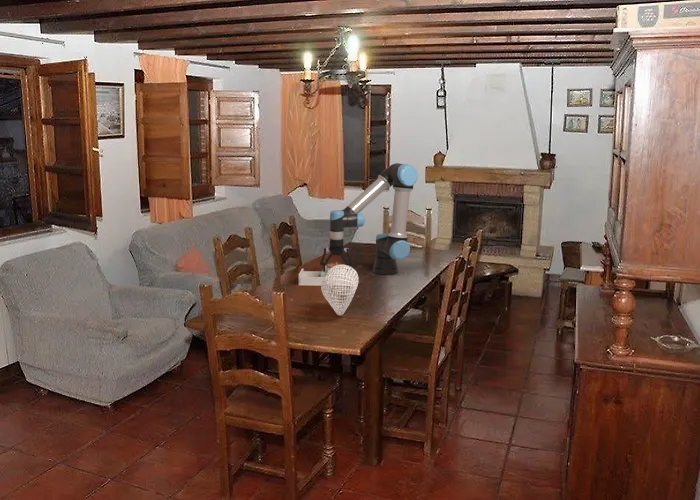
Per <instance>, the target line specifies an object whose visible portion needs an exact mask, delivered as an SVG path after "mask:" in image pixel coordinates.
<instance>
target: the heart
mask: <svg viewBox="0 0 700 500" xmlns="http://www.w3.org/2000/svg"><path fill="white" fill-rule="evenodd" d="M338 266H340V267H338ZM342 266H344V267H342ZM335 267H336V268H335ZM347 267H348V268H347ZM339 268H340V269H339ZM341 268H343V269H341ZM344 268H346V270H345V269H344ZM331 269H332V270H331ZM331 269H330V270H329V271H328V272H327V274H328V275H327V274H326V277H324V279H325V280H324V279H323V281H322V284H321V288H320V290H321V293H322V295H323V297H324V298H325V300H326V301H327V302H328V304H329V305H330V307H331V308H332V310H333V312H335V313H336V315H337V316H343V315H344V313H346V311H347V309H348V308H349V306H350V305H351V302H352V301H353V298H354V296H355V293H356V290H357V288H358V286H359V275H358V272H357V270H356V269H354V268H353V267H352V266H347V265H346V264H345V265H337V266H334V267H332V268H331ZM334 269H335V270H334ZM347 269H348V270H347ZM336 270H338V271H336ZM331 271H332V272H331ZM334 271H335V272H334ZM341 271H343V272H341ZM339 272H341V273H339ZM345 272H346V273H345ZM348 272H349V273H350V275H349V273H348ZM329 273H330V274H329ZM344 273H345V274H344ZM352 273H353V274H352ZM332 274H334V275H332ZM336 274H337V275H336ZM339 274H340V275H339ZM341 275H343V276H341ZM344 275H346V276H344ZM352 275H353V276H352ZM336 276H337V277H338V279H336ZM339 276H340V277H343V279H339ZM347 276H349V277H347ZM354 276H355V277H354ZM332 277H333V279H332ZM344 277H346V279H344ZM329 278H330V279H329ZM334 278H335V279H334ZM347 278H349V279H347ZM350 278H351V279H350ZM329 280H330V281H333V284H332V283H331V284H330V281H329ZM335 280H336V284H334V281H335ZM337 280H338V283H337ZM340 280H342V283H340ZM349 280H350V281H351V282H350V281H349ZM344 281H345V283H344ZM352 281H353V283H352ZM347 282H348V283H347ZM349 282H350V284H349ZM346 284H348V285H346ZM332 285H333V286H332ZM334 285H336V286H334ZM337 285H338V286H337ZM340 285H342V286H340ZM344 285H345V286H344Z"/></svg>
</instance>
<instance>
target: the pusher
mask: <svg viewBox="0 0 700 500" xmlns="http://www.w3.org/2000/svg"><path fill="white" fill-rule="evenodd" d="M321 271H322V272H321V275H318V277H325V272H324V271H323V269H322V270H321Z"/></svg>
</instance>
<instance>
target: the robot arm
mask: <svg viewBox="0 0 700 500" xmlns="http://www.w3.org/2000/svg"><path fill="white" fill-rule="evenodd" d="M418 178H419V175H418V171H417V169H416V168H415V167H414V166H413V165H411V164H408V163H399V162H398V163H397V162H396V163H392V164H391V165H389V166H387V167H386V168H385V169H384V170H383V171H381V172H380V174H378V176H377V179H376V180H374V181H373V182H372V183H371V184H370V185H369V186H368V187H367V188H366V189H364V190H363V191H362V192H361V193H360V194H359V195H358V196H357V197H356V198H355V199H354V200H353V201H351V202H350V203H349V204H348V205H347V206H346V207H344V208H343V209H340V210H339V209H338V210H337V209H335V210H331V211H330V213H329V238H330V239H329V247H324V248H323V254H322V257H321V260H320V262H319V265H321V266H322V270H323V271H324V272H325V277H326V274H327V264H328V263H329V261H330V260H331V257H333V256H340V257H341V260H342V261H344V262H343V263H344V264H345V265H347V266H350V267H352V266H353V265H354V263H353V260H352V257H351V255H350V248H349V247H344V236H345V235H344V228H362V227H364V225H365V223H366V221H365V219H366V218H365V216H364V214H363V213H361V212H362V211H363V210H364V209H365V208H366V207H368V206H369V205H370V204H371V203H372V202H374V201H375V199H376V198H378V197H379V195H381V194H382V193H383V192H384V191H385V190H387V189H389V188H391V187H392V188H393V190H394V195H393V203H392V204H393V205H392V215H391V226H390V232H389V233H387V232H386V233H378V234H376V237H375V261H374V264H373V266H372V272H373V273H375V274H377V275H378V274H379V275H393V274H398V273H399V266H398V263H397V261H400V260H401V261H402V260H404V259H405V258H407V257H408V255H409V254H410V252H411V246H410V244H409V242H408V239H409V237H408V235H407V232H406V231H407V222H408V214H409V213H408V212H409V204H410V193H411V192H412V191H413V190H414V185H415V184H416V183H417V181H418ZM328 251H329V252H330V253H329V255H328V257H327V258H326V255H327V252H328ZM344 252H345V253H346V256H347V258H346V257H345V255H344ZM325 258H326V260H325ZM347 259H348V260H347ZM324 260H325V261H324ZM347 268H348V267H347ZM347 270H348V269H347Z"/></svg>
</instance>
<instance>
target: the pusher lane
mask: <svg viewBox="0 0 700 500" xmlns="http://www.w3.org/2000/svg"><path fill="white" fill-rule="evenodd" d="M304 269H305V268H301V270H300V272H299V273H298V286H321V284H322V281H323V279H324V277H318V275H321V272H322V270H321V271H320V270H319V271H315V270H314V271H313V270H312V271H311V270H304ZM345 273H346V272H345ZM348 273H349V272H348ZM352 274H353V273H352ZM327 275H328V274H327ZM349 275H350V273H349ZM344 276H346V275H344ZM352 276H353V275H352ZM347 277H349V276H347ZM354 277H355V276H354ZM329 279H330V278H329ZM332 279H333V277H332ZM334 279H335V278H334ZM336 279H338V277H336ZM339 279H343V277H339ZM344 279H346V277H344ZM347 279H349V278H347ZM350 279H351V278H350ZM324 280H325V279H324ZM329 281H330V280H329ZM349 281H350V280H349ZM350 282H351V281H350ZM350 282H349V284H350ZM331 283H332V284H333V281H330V284H331ZM337 283H338V280H337ZM340 283H342V280H340ZM344 283H345V281H344ZM347 283H348V282H347ZM352 283H353V281H352ZM334 284H336V280H335V281H334ZM346 285H348V284H346ZM335 286H336V285H334V287H335ZM340 286H341V287H342V285H340ZM332 287H333V285H332ZM337 287H338V285H337ZM344 287H345V285H344Z"/></svg>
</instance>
